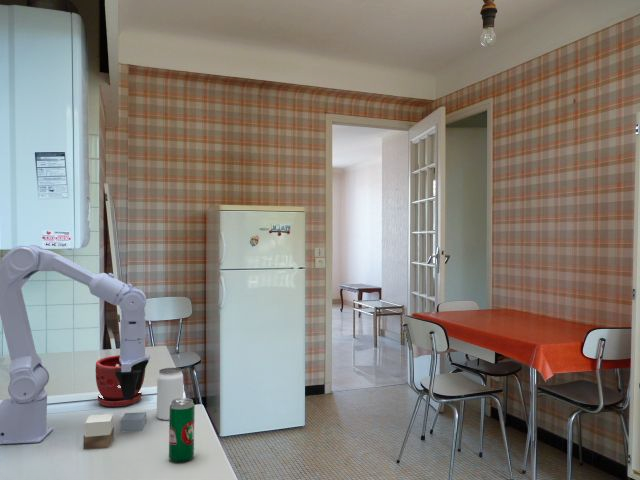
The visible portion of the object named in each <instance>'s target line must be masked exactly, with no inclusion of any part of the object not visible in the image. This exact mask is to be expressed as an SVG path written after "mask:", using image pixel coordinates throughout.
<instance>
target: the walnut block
mask: <svg viewBox="0 0 640 480" xmlns="http://www.w3.org/2000/svg"><path fill="white" fill-rule="evenodd" d="M114 440H115V427H114V426H113V428H112V431H111V434H110V435H102V436H91V437H85V434H84V436H83V447H82V448H83V450H96V449H97V450H99V449H108V448H109V446H110V445H111V444H112V443H113V441H114Z"/></svg>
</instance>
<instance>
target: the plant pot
mask: <svg viewBox="0 0 640 480" xmlns="http://www.w3.org/2000/svg"><path fill="white" fill-rule="evenodd" d="M119 357H120V354H118V355H111V356H105V357H103V358H100V359H98V360H97V361H96V362H95V383H96V387H97V390H98V392H99V395H100V394H101V395H102V396H103V398H104V399H102V398H100V397H99V395H98V396H97V401H98V402H99V403H100V404H101V405H103V406H106V407H124V406H125V407H126V406H128V405H133V404H135V403H136V402H138V401H139V400H140V399H141V397H142V396H143V393H142V392H141V393H138V392H139V391H141V388H142V386H143V385H144V381H145V376H146V370H145V371H144V374H143V379H142V384H141V388H140V390H135V395H134V399H133V400H124V398H123V395H122V390H121V388H118V387H117V386H118V385H120V383H119V380H118V379H117V377H116V375H115V371H116V370H117V369H121V363H120V361H119ZM117 365H118V366H117Z"/></svg>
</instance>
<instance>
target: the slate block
mask: <svg viewBox="0 0 640 480" xmlns="http://www.w3.org/2000/svg"><path fill="white" fill-rule="evenodd" d="M119 421H120V422H119V426H120V427H119V431H120V432H121V431H122V433H123V431H126V432H140V431H141V432H142V431H143V429H144V428H145V426H146V424H147V412H146V411H140V412H125V413H124V414H123V416H122V417H121V419H120V420H119Z"/></svg>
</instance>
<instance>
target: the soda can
mask: <svg viewBox="0 0 640 480" xmlns="http://www.w3.org/2000/svg"><path fill="white" fill-rule="evenodd" d="M171 403H172V404H171V405H170V412H169V420H168V421H169V422H168V423H169V426H168V427H169V429H168V458H169V459H170V461H171V462H174V463H181V464H182V463H185V462H188V461H190V460H191V459H193V457H194V455H195V414H196V413H195V409H196V408H195V403H194V400H193V399H192V398H190V397H183V398H178V399H175V400H173V401H172V402H171Z"/></svg>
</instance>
